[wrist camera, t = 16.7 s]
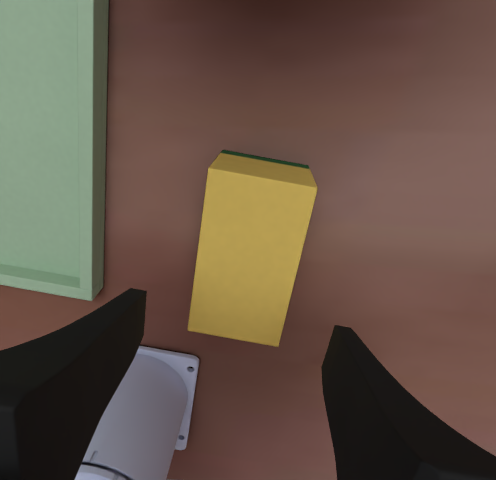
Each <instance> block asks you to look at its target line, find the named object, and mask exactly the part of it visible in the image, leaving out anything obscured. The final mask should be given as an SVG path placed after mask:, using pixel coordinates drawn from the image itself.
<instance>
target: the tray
mask: <svg viewBox="0 0 496 480" xmlns="http://www.w3.org/2000/svg"><path fill="white" fill-rule="evenodd" d="M108 9H109V0H0V285H6V286H11V287H17V288H22V289H28V290H33V291H39V292H45V293H50V294H56V295H61V296H67V297H72V298H78V299H83V300H89V301H92V300H93V299H94V298H95V296H96V295H97V294H98V293H99V292H100V290H101V289H102V288H103V274H104V221H105V168H106V115H107V62H108Z"/></svg>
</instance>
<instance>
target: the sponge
mask: <svg viewBox="0 0 496 480" xmlns="http://www.w3.org/2000/svg"><path fill="white" fill-rule="evenodd" d="M317 189H318V188H317V185H316V183H315V181H314V178H313V176H312V173H311V171H310V169H309V166H308V165H303V164H297V163H292V162H286V161H281V160H275V159H270V158H265V157H259V156H254V155H248V154H243V153H237V152H232V151H226V150H222V152H221V153H220V154H219V155H218V157H217V158H216V159H215V160H214V162H213V163H212V164H211V166H210V167H209V168H208V174H207V182H206V190H205V198H204V206H203V213H202V221H201V229H200V237H199V245H198V252H197V260H196V268H195V276H194V283H193V291H192V299H191V307H190V315H189V322H188V331H193V332H198V333H204V334H209V335H215V336H220V337H226V338H232V339H237V340H243V341H248V342H254V343H259V344H265V345H270V346H276V347H278V345H279V341H280V337H281V333H282V329H283V325H284V321H285V317H286V313H287V309H288V305H289V301H290V297H291V293H292V289H293V285H294V281H295V277H296V273H297V269H298V265H299V261H300V257H301V253H302V249H303V245H304V241H305V237H306V233H307V229H308V225H309V221H310V217H311V213H312V209H313V205H314V201H315V197H316V193H317Z"/></svg>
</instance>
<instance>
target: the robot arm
mask: <svg viewBox="0 0 496 480" xmlns="http://www.w3.org/2000/svg"><path fill="white" fill-rule="evenodd" d="M146 294H147V291H144V290H138V289H133V288H130V289H129V290H127V291H125V292H124V293H122V294H121V295H119V296H117V297H116V298H114V299H113V300H111V301H110V302H108V303H106V304H105V305H103V306H102V307H100V308H98V309H97V310H95V311H93V312H92V313H90V314H88V315H86V316H84V317H82V318H81V319H79V320H77V321H75V322H73V323H71V324H69V325H67V326H65V327H63V328H61V329H59V330H57V331H54V332H52V333H50V334H47V335H45V336H42V337H40V338H37V339H34V340H31V341H29V342H26V343H23V344H20V345H17V346H14V347H11V348H8V349H4V350H1V351H0V480H166V478H167V475H168V471H169V467H170V464H171V460H172V456H173V453H174V449H176V450H184V449H185V448H186V446H187V440H188V433H189V427H190V420H191V413H192V407H193V400H194V393H195V387H196V380H197V373H198V367H199V359H198V358H197V357H196V356H194V355H189V354H183V353H178V352H172V351H167V350H161V349H156V348H150V347H144V346H139V345H140V343H141V340H142V338H143V335H144V321H145V307H146ZM189 367H193V368H189ZM322 385H323V395H324V400H325V406H326V411H327V416H328V421H329V427H330V432H331V437H332V442H333V447H334V453H335V460H336V470H337V480H496V456H494V455H492V454H491V453H489V452H487V451H486V450H484V449H482V448H481V447H479V446H478V445H476V444H475V443H473V442H472V441H470V440H469V439H467V438H466V437H464V436H462V435H461V434H460V433H458V432H457V431H455V430H454V429H453V428H451V427H450V426H448V425H447V424H446V423H444V422H443V421H442V420H441V419H439V418H438V417H437V416H435V415H434V414H433V413H432V412H430V411H429V410H428V409H427V408H426V407H424V406H423V405H422V404H421V403H420V402H419V401H418V400H416V399H415V398H414V397H413V396H412V395H411V394H410V393H409V392H408V391H407V390H406V389H404V388H403V387H402V386H401V385H400V384H399V383H398V381H397V380H396V379H395V378H394V377H393V376H392V375H391V374H390V373H389V372H388V371H387V370H386V369H385V368H384V367H383V365H382V364H381V363H380V362H379V361H378V360H377V359H376V357H375V356H374V355H373V354H372V353H371V351H370V350H369V349H368V348H367V347H366V345H365V344H364V343H363V342H362V340H361V339H360V338H359V337H358V336H357V334H356V333H355V332H354V331H353V330H352V329H351V328H348V327H343V326H337V325H335V327H334V330H333V333H332V336H331V339H330V342H329V346H328V349H327V352H326V355H325V358H324V361H323V365H322ZM182 435H183V436H182Z"/></svg>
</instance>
